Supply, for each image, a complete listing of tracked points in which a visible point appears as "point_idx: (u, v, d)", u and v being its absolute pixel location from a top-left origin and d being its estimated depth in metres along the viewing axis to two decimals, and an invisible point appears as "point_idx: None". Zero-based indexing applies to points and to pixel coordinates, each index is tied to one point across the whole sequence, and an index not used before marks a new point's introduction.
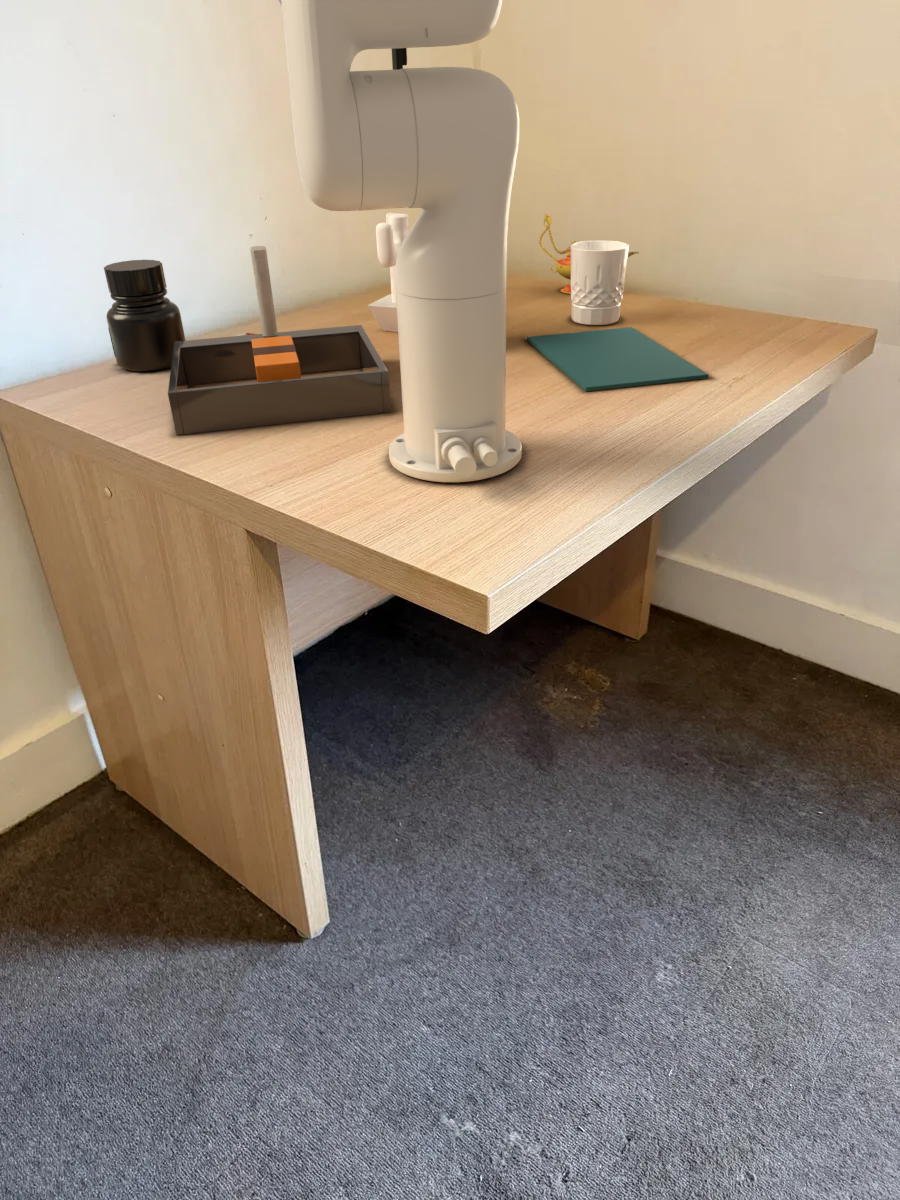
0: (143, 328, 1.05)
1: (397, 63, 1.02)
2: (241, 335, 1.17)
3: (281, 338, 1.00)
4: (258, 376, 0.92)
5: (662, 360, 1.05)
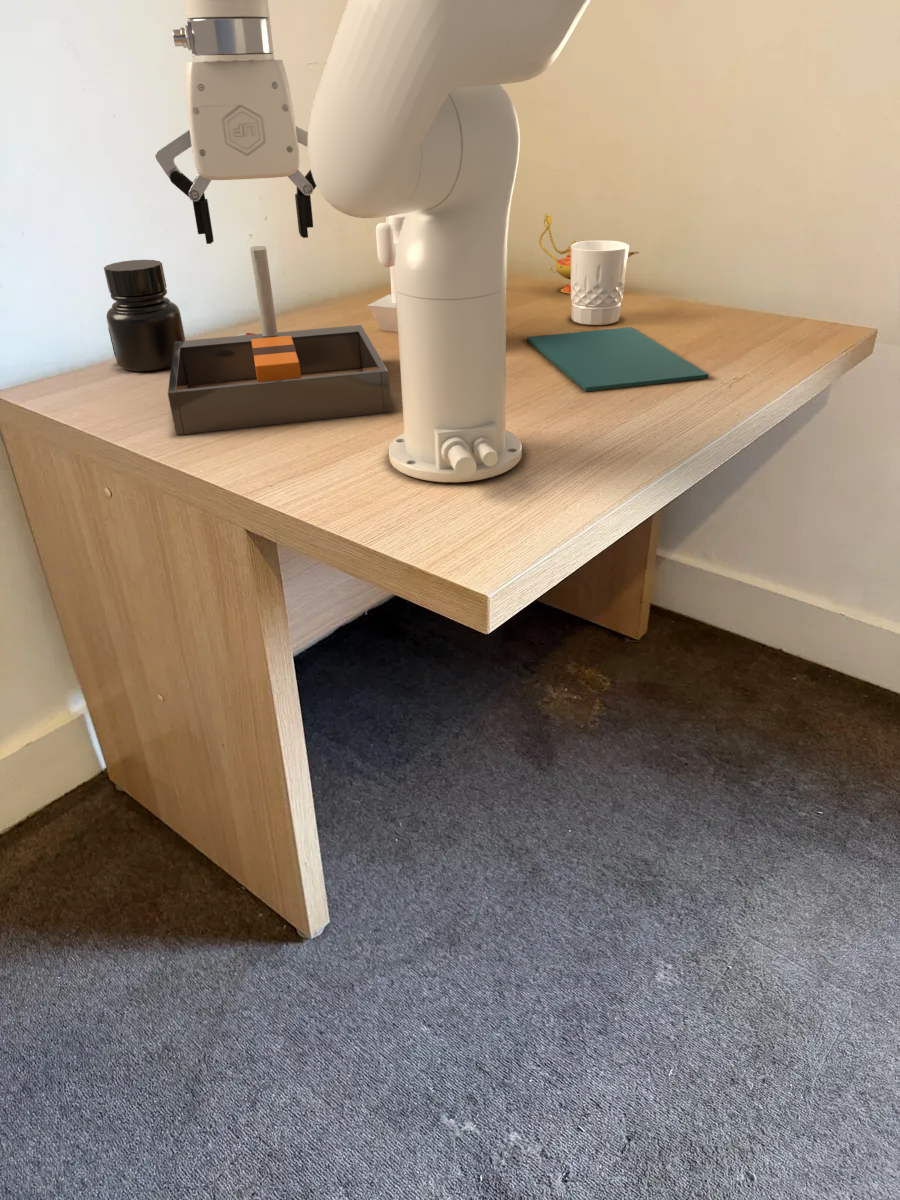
0: (143, 328, 1.05)
1: (301, 227, 0.89)
2: (241, 335, 1.17)
3: (281, 338, 1.00)
4: (258, 376, 0.92)
5: (662, 360, 1.05)
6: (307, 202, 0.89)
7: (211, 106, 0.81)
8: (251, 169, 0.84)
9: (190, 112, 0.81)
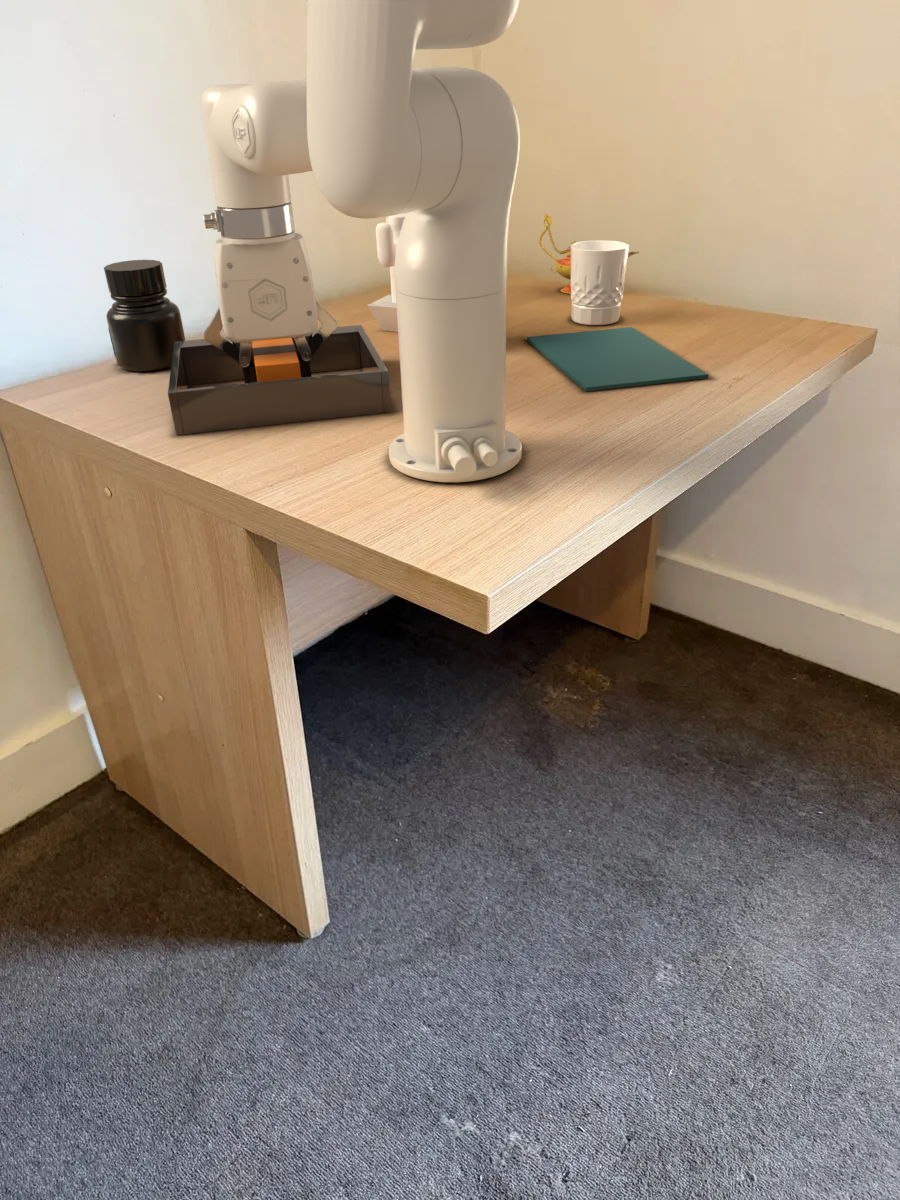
0: (143, 328, 1.05)
1: None
2: None
3: None
4: (258, 376, 0.92)
5: (662, 360, 1.05)
6: (307, 366, 0.97)
7: (238, 281, 0.89)
8: (274, 332, 0.92)
9: (219, 286, 0.89)
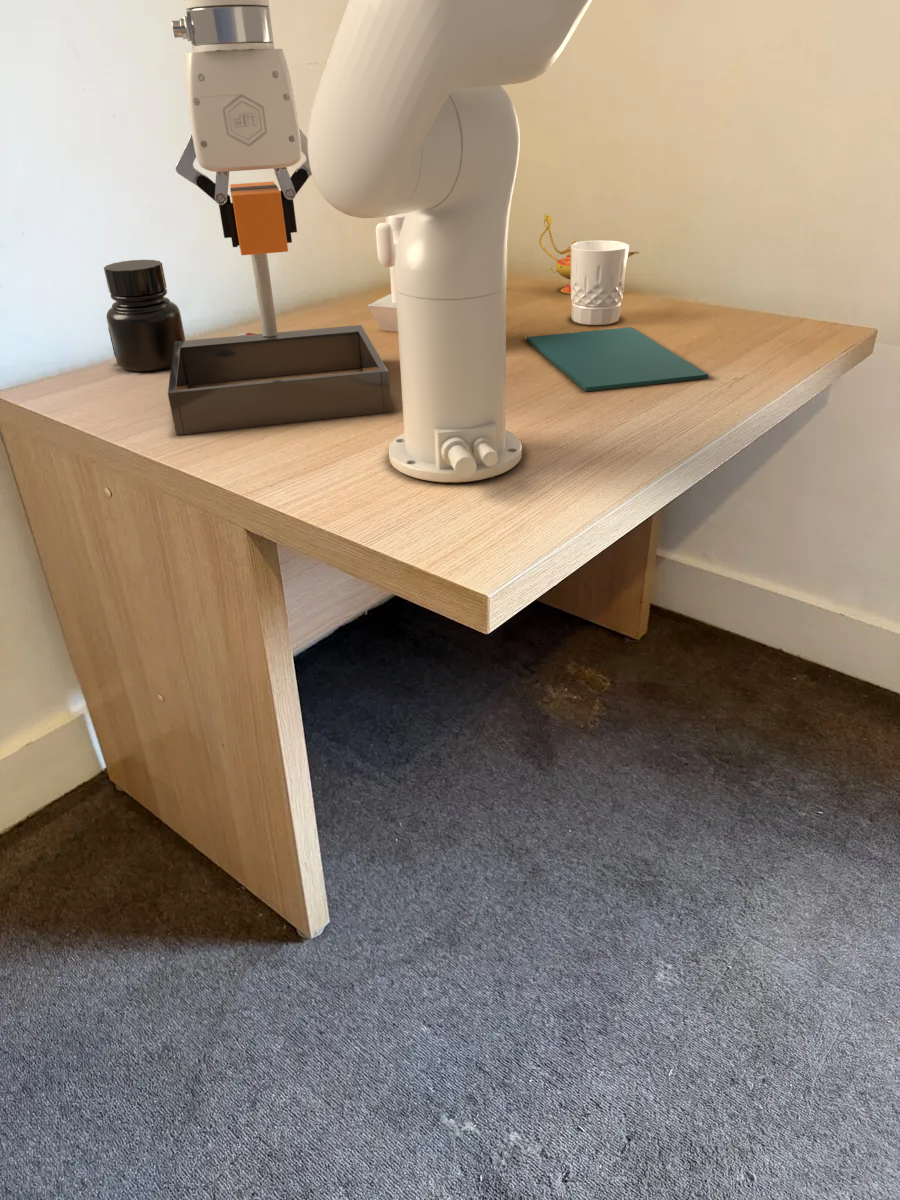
0: (143, 328, 1.05)
1: None
2: (241, 335, 1.17)
3: (262, 182, 0.91)
4: (235, 208, 0.83)
5: (662, 360, 1.05)
6: (290, 207, 0.88)
7: (212, 96, 0.80)
8: (253, 160, 0.83)
9: (191, 103, 0.80)
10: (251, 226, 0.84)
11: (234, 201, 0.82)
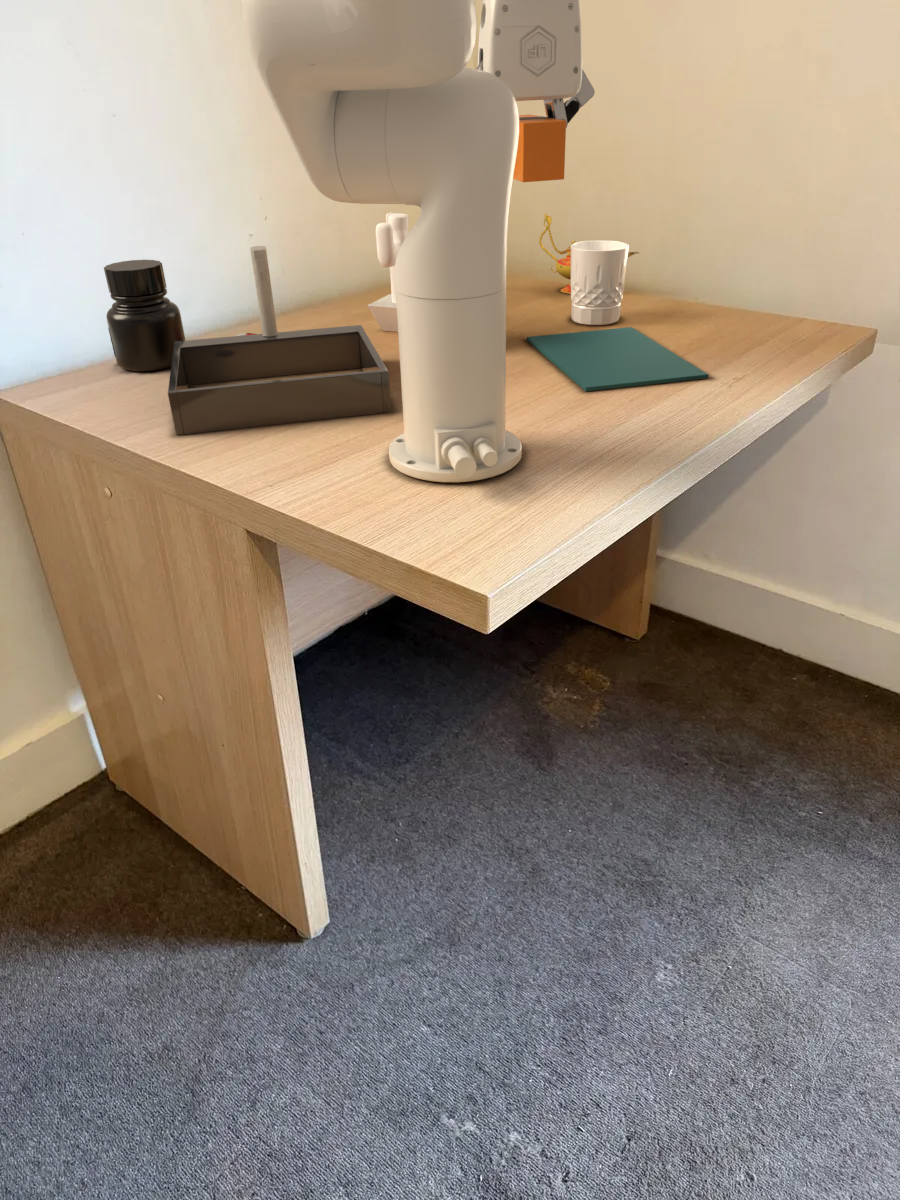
0: (143, 328, 1.05)
1: None
2: (241, 335, 1.17)
3: (523, 115, 0.95)
4: (524, 135, 0.87)
5: (662, 360, 1.05)
6: None
7: (512, 27, 0.84)
8: (539, 90, 0.88)
9: (491, 33, 0.84)
10: (536, 153, 0.88)
11: (524, 129, 0.87)
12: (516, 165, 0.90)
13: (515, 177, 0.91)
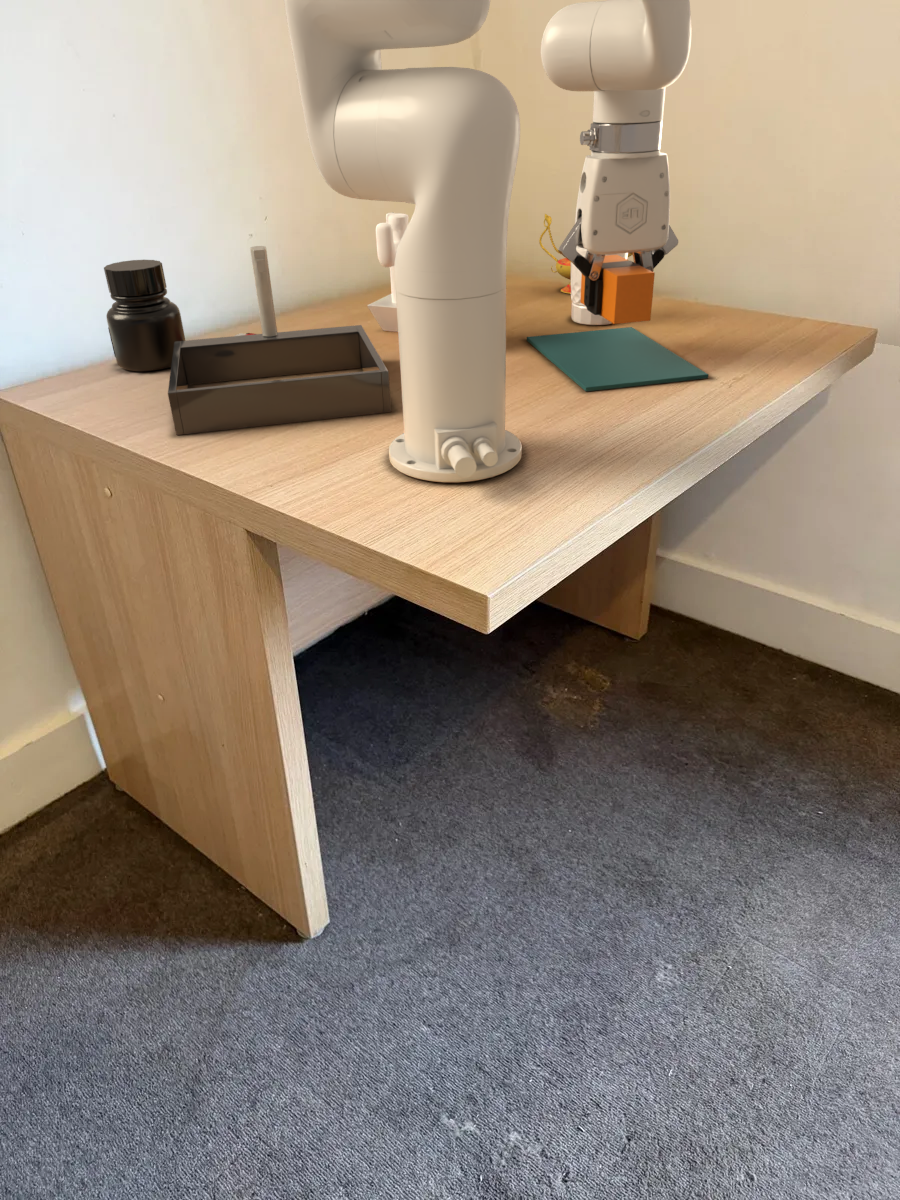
0: (143, 328, 1.05)
1: None
2: (241, 335, 1.17)
3: (611, 256, 1.06)
4: (617, 286, 0.98)
5: (662, 360, 1.05)
6: None
7: (609, 194, 0.95)
8: (630, 245, 0.98)
9: (591, 199, 0.95)
10: (627, 300, 0.99)
11: (618, 280, 0.98)
12: (607, 307, 1.01)
13: (606, 317, 1.02)
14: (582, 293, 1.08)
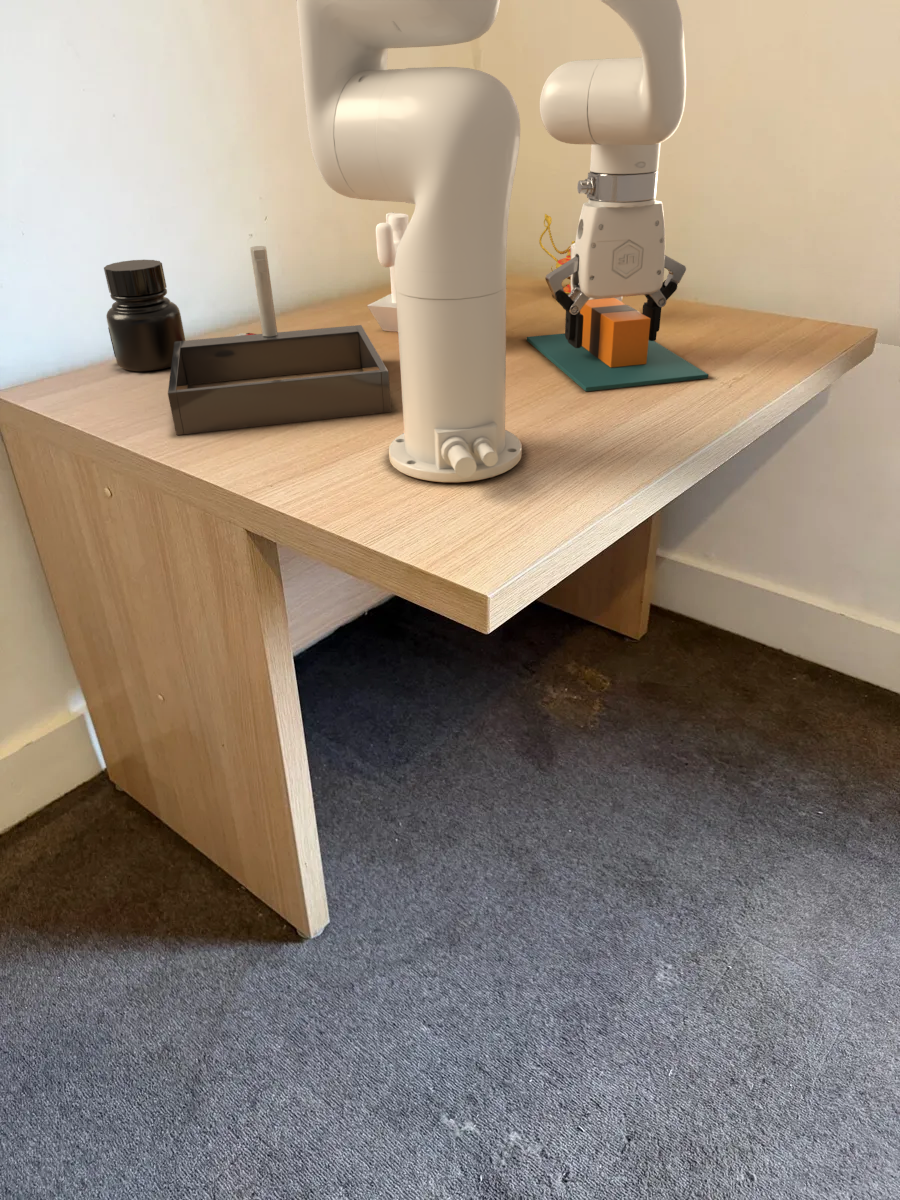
0: (143, 328, 1.05)
1: (651, 333, 1.06)
2: (242, 335, 1.17)
3: (608, 300, 1.09)
4: (614, 331, 1.01)
5: (662, 360, 1.05)
6: None
7: (606, 241, 0.98)
8: (626, 289, 1.01)
9: (588, 246, 0.98)
10: (623, 345, 1.02)
11: (614, 326, 1.00)
12: (604, 351, 1.04)
13: (603, 360, 1.05)
14: None
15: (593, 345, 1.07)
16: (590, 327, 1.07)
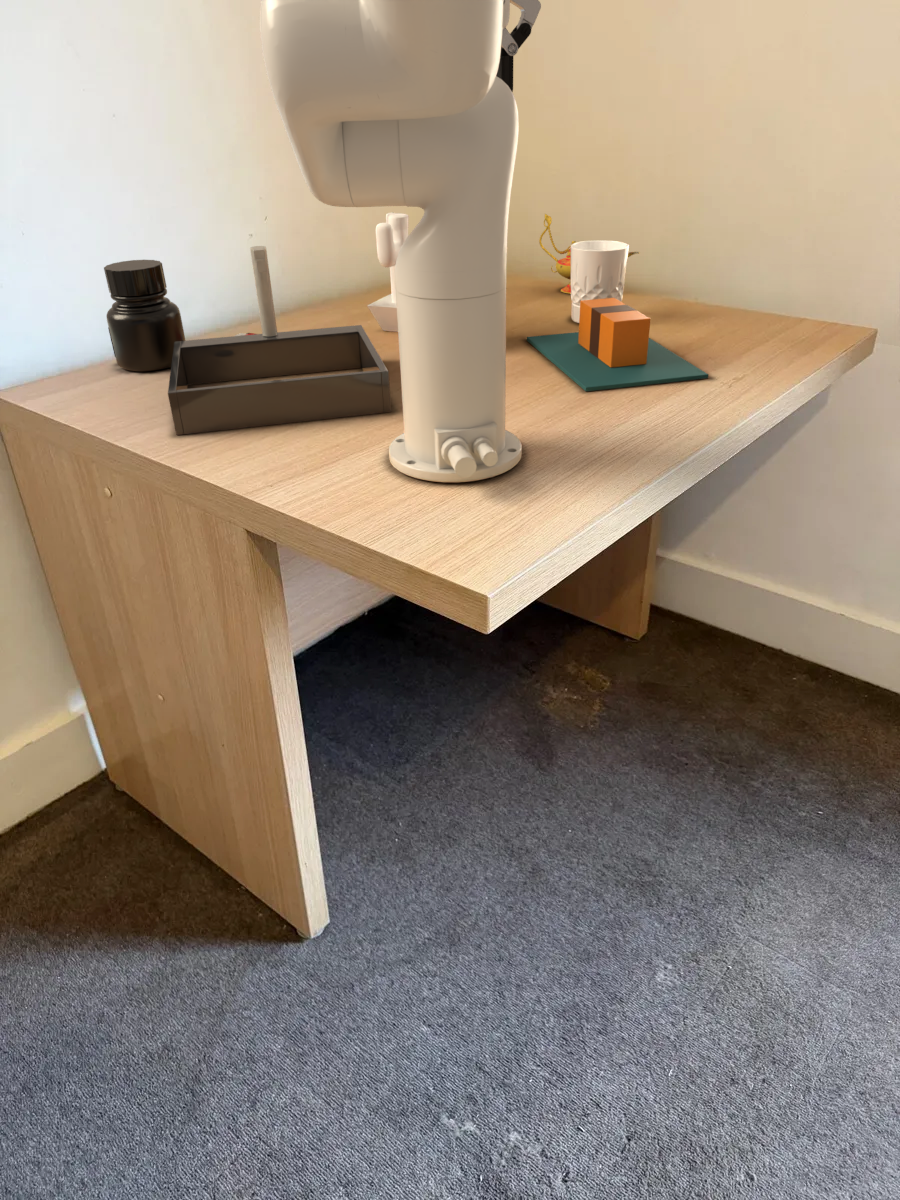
0: (143, 328, 1.05)
1: None
2: (242, 335, 1.17)
3: (608, 300, 1.09)
4: (614, 331, 1.01)
5: (662, 360, 1.05)
6: (509, 64, 0.85)
7: None
8: None
9: None
10: (623, 345, 1.02)
11: (614, 326, 1.00)
12: (604, 351, 1.04)
13: (603, 360, 1.05)
14: (580, 335, 1.11)
15: (593, 345, 1.07)
16: (590, 327, 1.07)
